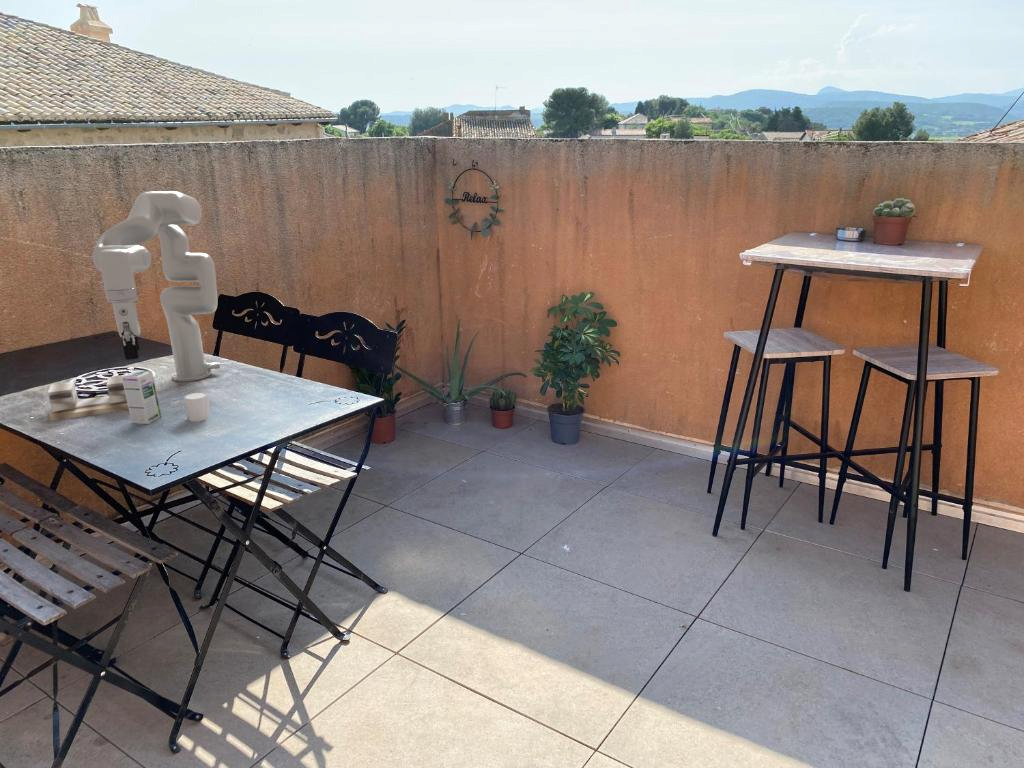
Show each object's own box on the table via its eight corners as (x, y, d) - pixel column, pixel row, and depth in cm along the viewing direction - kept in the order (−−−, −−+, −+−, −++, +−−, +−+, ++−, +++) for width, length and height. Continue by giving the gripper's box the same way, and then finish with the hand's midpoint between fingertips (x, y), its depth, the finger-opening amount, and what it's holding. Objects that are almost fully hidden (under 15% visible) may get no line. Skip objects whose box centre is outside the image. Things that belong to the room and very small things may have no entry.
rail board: (136, 396, 218) (131, 372, 215) (135, 408, 208) (130, 383, 205) (55, 407, 209) (49, 382, 206) (50, 420, 198) (44, 395, 196)
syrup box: (148, 424, 196) (139, 377, 191) (130, 423, 197) (120, 375, 192) (161, 417, 201) (153, 370, 196) (144, 415, 202) (135, 369, 197)
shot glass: (204, 411, 205) (201, 390, 203) (216, 417, 201) (212, 395, 199) (182, 418, 200) (178, 396, 198) (193, 424, 196) (189, 401, 194)
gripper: (136, 298, 181) (147, 360, 186) (137, 288, 195) (148, 346, 201) (103, 301, 177) (116, 364, 183) (107, 290, 192) (119, 349, 198)
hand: (132, 354), depth 192 cm, fingers open, 9 cm apart
